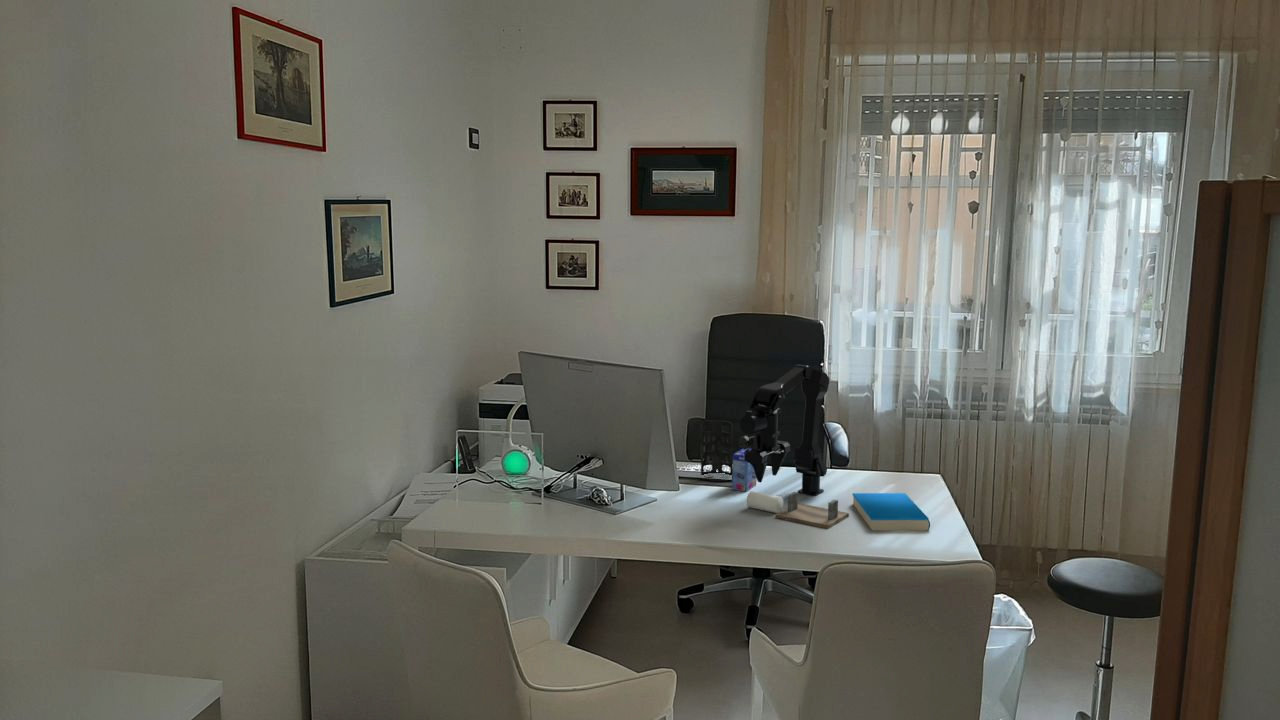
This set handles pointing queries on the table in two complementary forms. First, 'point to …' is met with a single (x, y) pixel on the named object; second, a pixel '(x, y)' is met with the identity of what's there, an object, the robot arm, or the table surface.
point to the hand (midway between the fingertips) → (767, 478)
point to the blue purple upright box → (742, 473)
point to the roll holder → (812, 513)
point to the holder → (716, 447)
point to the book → (890, 511)
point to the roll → (764, 502)
